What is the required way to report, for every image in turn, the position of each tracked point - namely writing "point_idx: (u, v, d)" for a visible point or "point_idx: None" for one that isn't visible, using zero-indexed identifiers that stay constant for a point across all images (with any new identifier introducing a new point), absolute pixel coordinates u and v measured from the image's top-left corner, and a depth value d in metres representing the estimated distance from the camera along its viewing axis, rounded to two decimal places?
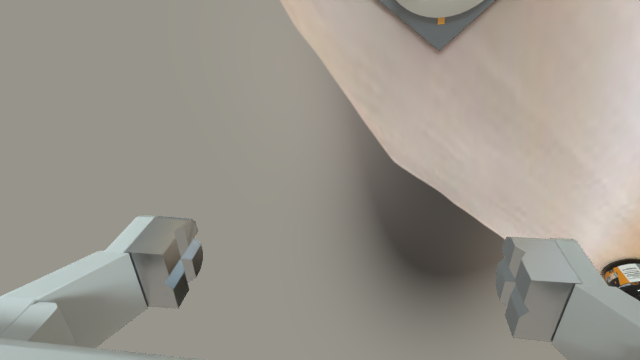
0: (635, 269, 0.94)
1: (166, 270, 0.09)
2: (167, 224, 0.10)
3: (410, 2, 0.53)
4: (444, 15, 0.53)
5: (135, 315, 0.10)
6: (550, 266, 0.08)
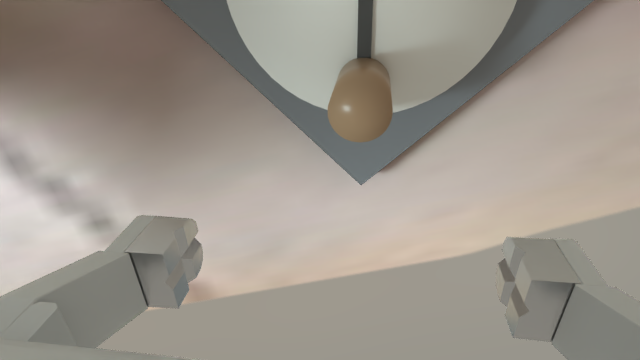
0: None
1: (166, 270, 0.09)
2: (167, 224, 0.10)
3: (461, 56, 0.22)
4: None
5: (135, 315, 0.10)
6: (551, 267, 0.08)
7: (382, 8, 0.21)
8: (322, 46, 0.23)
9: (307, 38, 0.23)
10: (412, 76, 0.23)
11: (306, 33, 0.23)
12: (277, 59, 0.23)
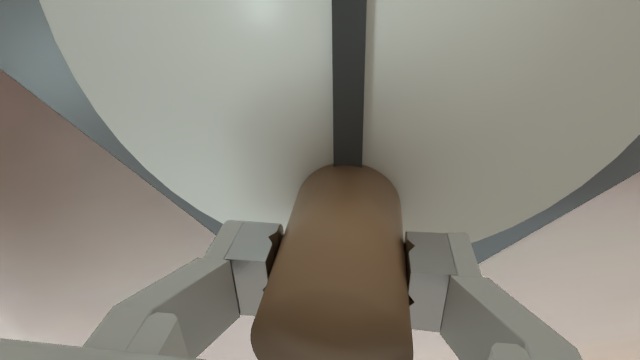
0: None
1: (266, 278, 0.09)
2: (259, 229, 0.10)
3: (551, 168, 0.10)
4: None
5: (229, 324, 0.09)
6: (433, 259, 0.09)
7: (385, 71, 0.10)
8: (263, 140, 0.11)
9: (231, 125, 0.11)
10: (446, 199, 0.11)
11: (229, 116, 0.11)
12: (177, 160, 0.12)
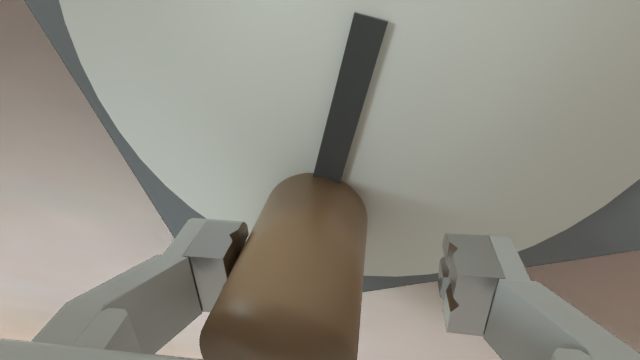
0: None
1: (225, 274, 0.09)
2: (221, 227, 0.10)
3: (511, 224, 0.11)
4: None
5: (190, 320, 0.09)
6: (479, 262, 0.08)
7: (385, 99, 0.10)
8: (250, 134, 0.11)
9: (221, 111, 0.11)
10: (410, 231, 0.12)
11: (221, 102, 0.11)
12: (156, 131, 0.11)
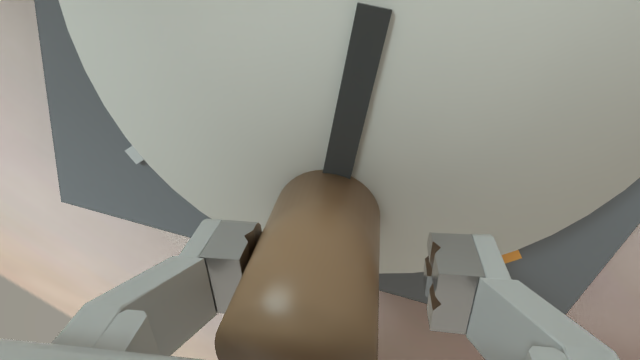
0: None
1: (241, 276, 0.09)
2: (236, 228, 0.10)
3: (528, 213, 0.11)
4: None
5: (205, 322, 0.09)
6: (461, 261, 0.09)
7: (393, 90, 0.10)
8: (257, 133, 0.11)
9: (227, 111, 0.11)
10: (424, 225, 0.12)
11: (226, 102, 0.11)
12: (162, 136, 0.11)
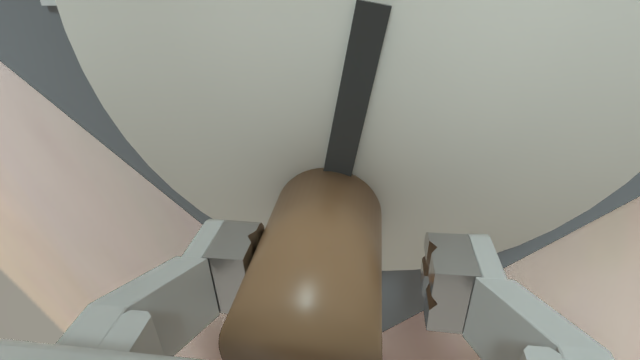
0: None
1: None
2: (239, 228, 0.10)
3: (529, 209, 0.11)
4: None
5: (209, 322, 0.09)
6: (457, 260, 0.09)
7: (393, 87, 0.10)
8: (257, 132, 0.11)
9: (227, 110, 0.11)
10: (425, 221, 0.12)
11: (225, 101, 0.11)
12: (162, 136, 0.11)
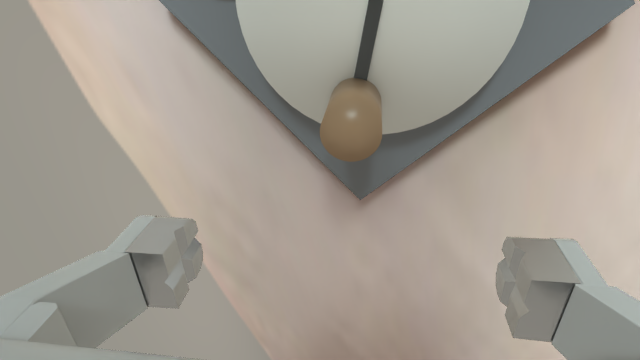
0: None
1: (166, 270, 0.09)
2: (167, 224, 0.10)
3: (450, 93, 0.23)
4: (519, 19, 0.21)
5: (135, 315, 0.10)
6: (550, 266, 0.08)
7: (385, 36, 0.22)
8: (322, 60, 0.23)
9: (309, 50, 0.23)
10: (402, 104, 0.24)
11: (308, 45, 0.23)
12: (276, 64, 0.24)
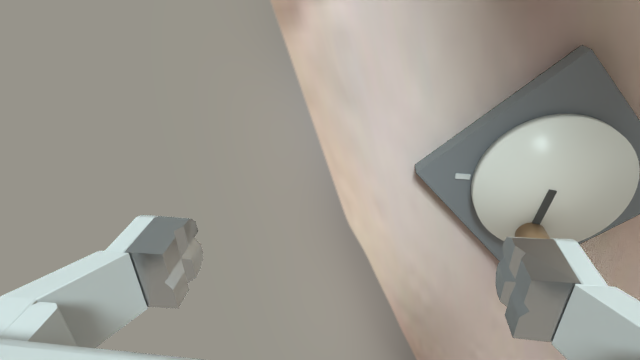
0: None
1: (166, 270, 0.09)
2: (167, 224, 0.10)
3: (584, 231, 0.44)
4: (627, 202, 0.41)
5: (135, 315, 0.10)
6: (550, 266, 0.08)
7: (554, 205, 0.42)
8: (516, 214, 0.44)
9: (509, 209, 0.43)
10: (556, 235, 0.44)
11: (510, 207, 0.43)
12: (488, 215, 0.44)
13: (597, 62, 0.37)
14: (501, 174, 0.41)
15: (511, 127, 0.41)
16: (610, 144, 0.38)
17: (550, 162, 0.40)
